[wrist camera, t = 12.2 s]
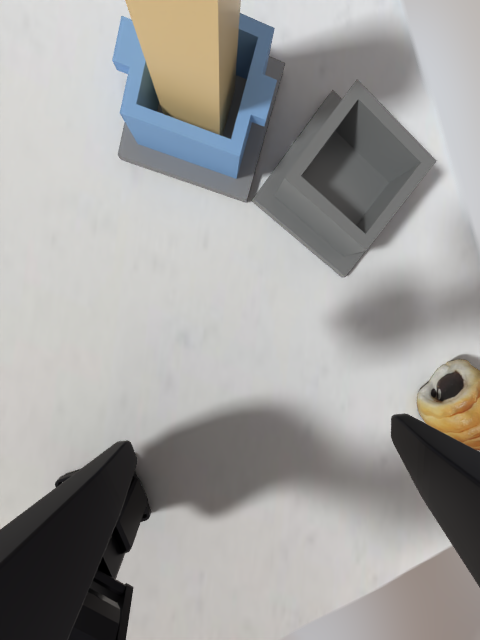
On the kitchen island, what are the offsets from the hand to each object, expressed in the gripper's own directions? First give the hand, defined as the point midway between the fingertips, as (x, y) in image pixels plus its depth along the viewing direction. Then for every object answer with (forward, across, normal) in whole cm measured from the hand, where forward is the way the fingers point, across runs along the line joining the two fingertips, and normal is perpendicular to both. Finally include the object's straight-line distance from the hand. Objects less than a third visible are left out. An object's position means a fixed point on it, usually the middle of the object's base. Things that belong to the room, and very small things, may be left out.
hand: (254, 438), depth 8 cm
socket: (+15, -8, -10) cm, 20 cm away
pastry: (+15, -18, +11) cm, 26 cm away
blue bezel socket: (+15, +2, -16) cm, 22 cm away
